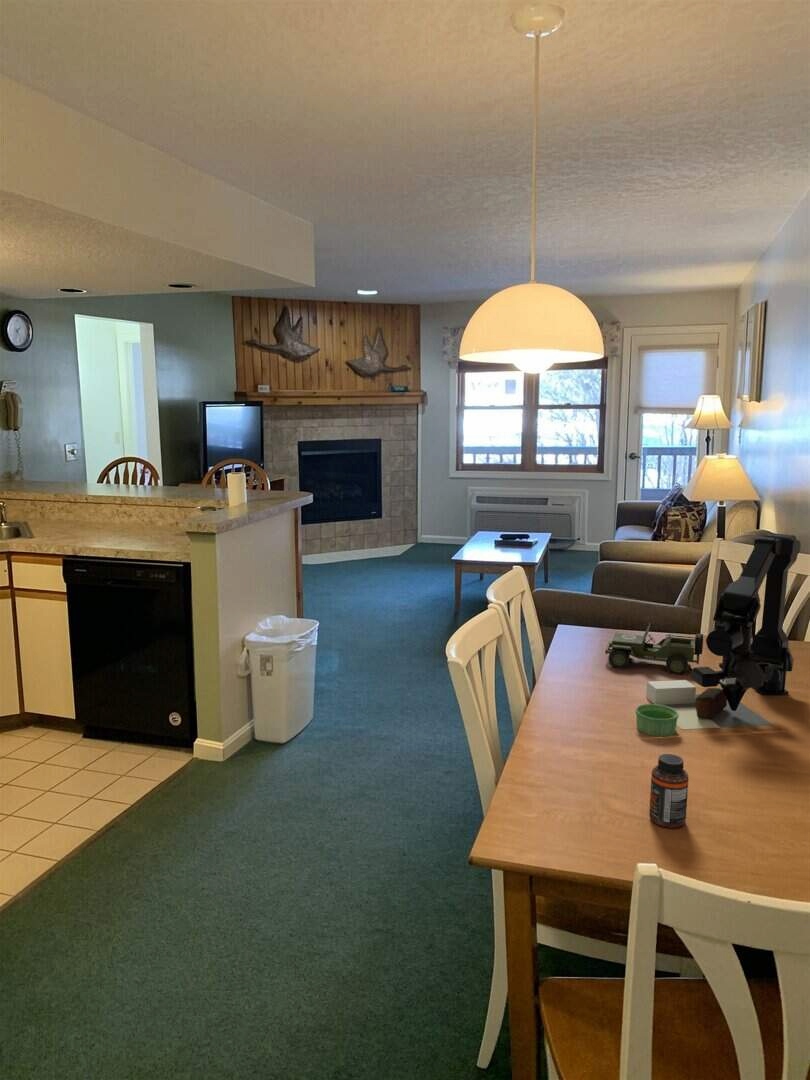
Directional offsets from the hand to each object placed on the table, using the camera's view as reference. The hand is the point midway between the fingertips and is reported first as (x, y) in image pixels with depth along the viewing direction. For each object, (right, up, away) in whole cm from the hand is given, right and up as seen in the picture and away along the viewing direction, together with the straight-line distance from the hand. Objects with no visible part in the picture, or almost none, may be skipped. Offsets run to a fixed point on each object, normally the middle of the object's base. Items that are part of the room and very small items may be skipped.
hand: (733, 710), depth 179 cm
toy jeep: (-7, +4, +36) cm, 37 cm away
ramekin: (-20, -3, -7) cm, 22 cm away
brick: (-4, -1, +1) cm, 5 cm away
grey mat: (-5, -1, +3) cm, 6 cm away
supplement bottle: (-30, -9, -46) cm, 56 cm away
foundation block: (-11, 0, +9) cm, 15 cm away
